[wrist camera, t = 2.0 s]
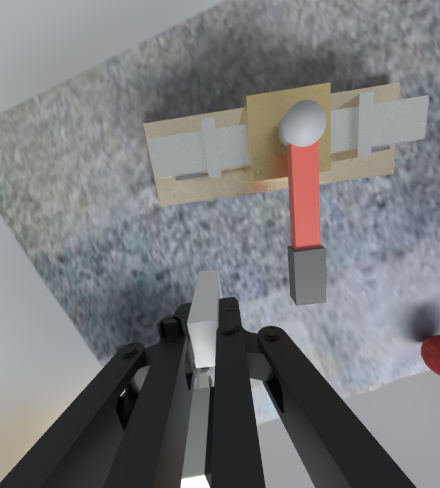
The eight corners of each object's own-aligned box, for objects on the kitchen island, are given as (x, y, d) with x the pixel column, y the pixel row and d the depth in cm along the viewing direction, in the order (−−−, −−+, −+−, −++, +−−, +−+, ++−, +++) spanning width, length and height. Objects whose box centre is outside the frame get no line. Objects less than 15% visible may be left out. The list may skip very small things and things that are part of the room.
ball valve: (147, 406, 40) (90, 572, 23) (130, 369, 38) (53, 523, 21) (242, 386, 38) (258, 549, 21) (230, 347, 36) (236, 493, 19)
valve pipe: (390, 88, 26) (507, 19, 15) (385, 174, 29) (482, 168, 18) (147, 126, 28) (98, 89, 17) (163, 205, 30) (129, 217, 19)
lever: (276, 111, 17) (283, 103, 15) (316, 105, 17) (326, 95, 15) (288, 295, 21) (294, 305, 19) (319, 292, 21) (328, 301, 19)
